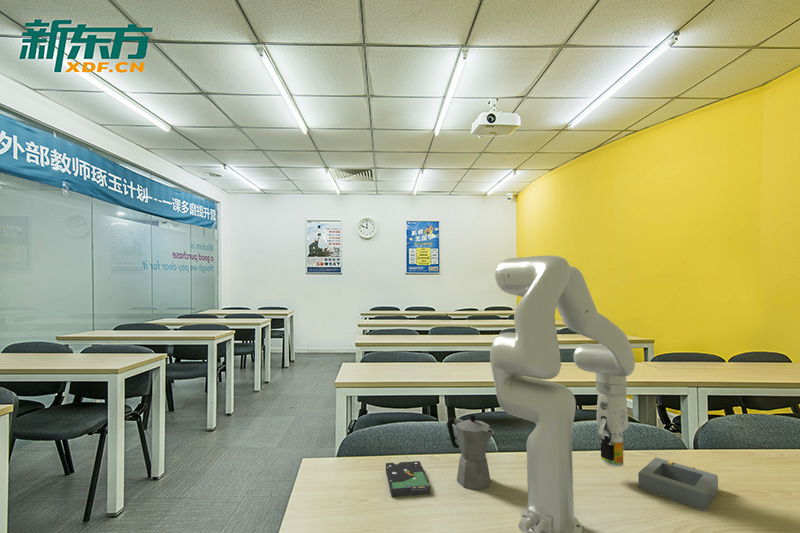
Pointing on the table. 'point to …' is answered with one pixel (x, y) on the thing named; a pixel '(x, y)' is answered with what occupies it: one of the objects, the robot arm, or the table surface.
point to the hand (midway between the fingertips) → (612, 455)
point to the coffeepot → (471, 451)
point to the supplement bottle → (615, 451)
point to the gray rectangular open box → (679, 483)
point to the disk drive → (407, 479)
